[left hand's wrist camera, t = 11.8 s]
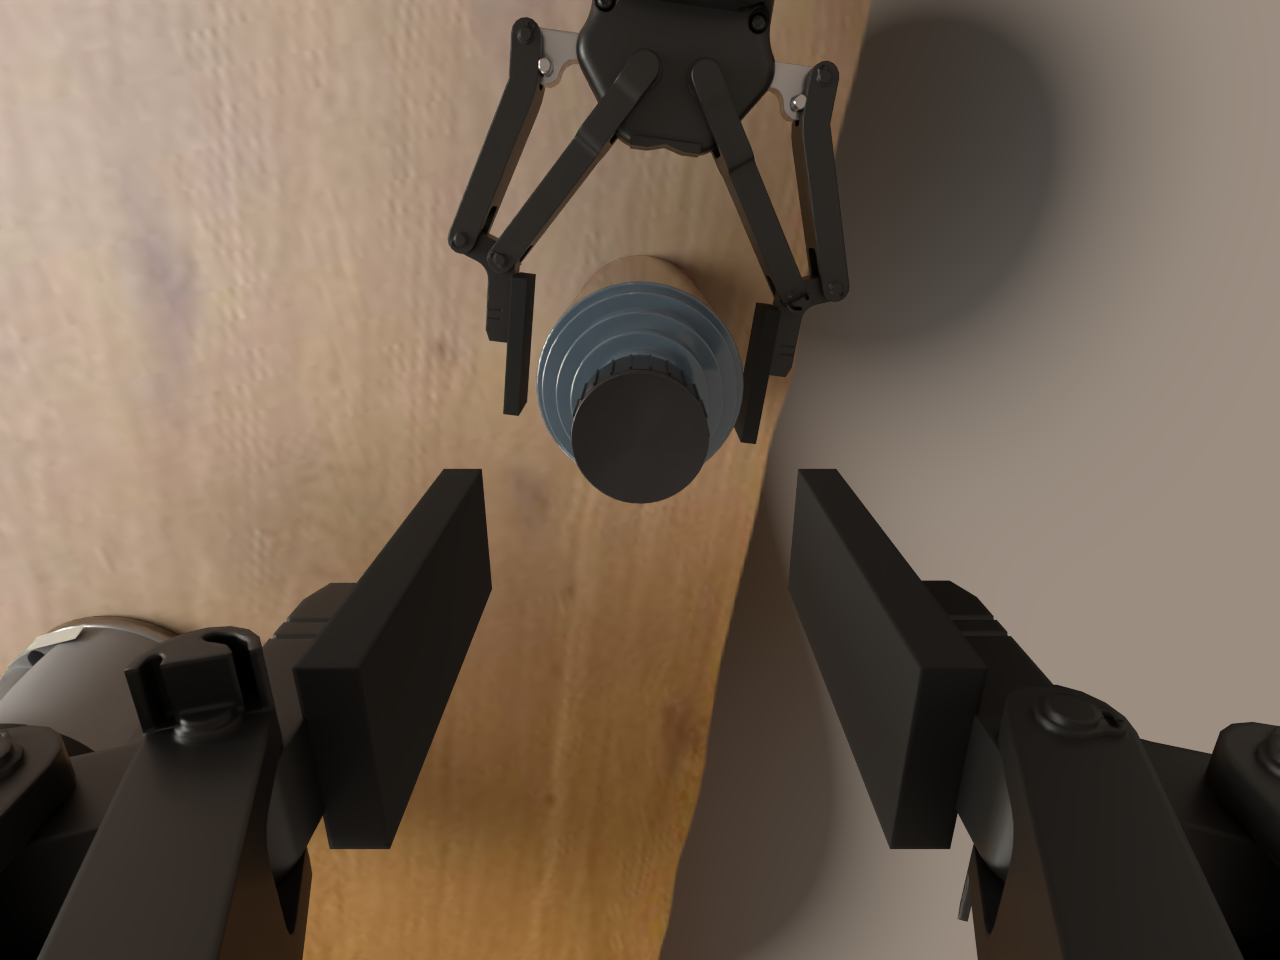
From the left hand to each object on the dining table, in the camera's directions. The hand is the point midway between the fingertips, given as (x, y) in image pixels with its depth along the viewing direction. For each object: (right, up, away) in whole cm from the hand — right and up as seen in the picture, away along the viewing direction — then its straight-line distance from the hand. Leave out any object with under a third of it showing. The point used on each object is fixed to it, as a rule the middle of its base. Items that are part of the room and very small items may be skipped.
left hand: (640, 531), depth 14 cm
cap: (0, +2, +6) cm, 6 cm away
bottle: (0, +10, +26) cm, 28 cm away
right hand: (0, +4, +21) cm, 22 cm away
